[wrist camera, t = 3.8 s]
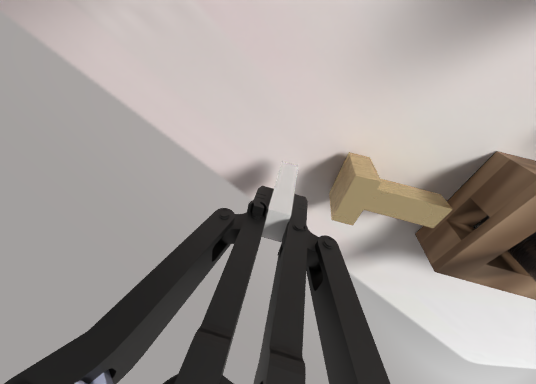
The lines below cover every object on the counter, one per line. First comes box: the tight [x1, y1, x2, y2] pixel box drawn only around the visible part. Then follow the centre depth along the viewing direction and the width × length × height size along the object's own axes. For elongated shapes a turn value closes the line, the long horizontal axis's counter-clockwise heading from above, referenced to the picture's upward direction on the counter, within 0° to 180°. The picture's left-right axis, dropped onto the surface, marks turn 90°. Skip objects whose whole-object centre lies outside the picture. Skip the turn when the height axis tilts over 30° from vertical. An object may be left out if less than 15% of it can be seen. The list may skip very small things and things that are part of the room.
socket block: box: [415, 151, 536, 300], centre depth 18 cm, size 11×11×5 cm
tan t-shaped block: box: [329, 152, 453, 228], centre depth 18 cm, size 9×5×4 cm, turn 79°
